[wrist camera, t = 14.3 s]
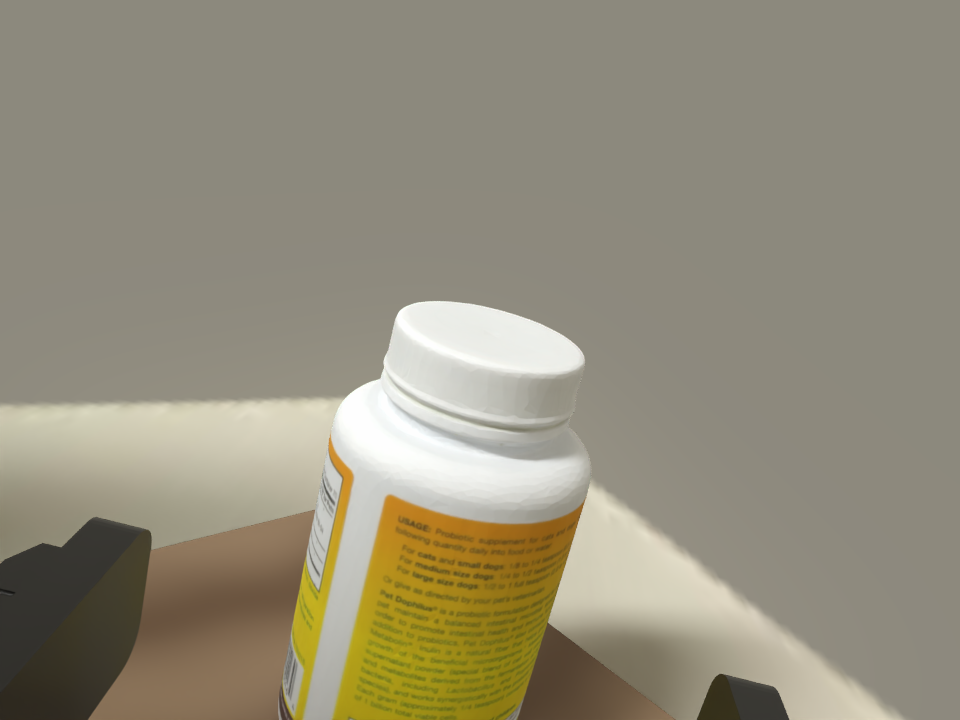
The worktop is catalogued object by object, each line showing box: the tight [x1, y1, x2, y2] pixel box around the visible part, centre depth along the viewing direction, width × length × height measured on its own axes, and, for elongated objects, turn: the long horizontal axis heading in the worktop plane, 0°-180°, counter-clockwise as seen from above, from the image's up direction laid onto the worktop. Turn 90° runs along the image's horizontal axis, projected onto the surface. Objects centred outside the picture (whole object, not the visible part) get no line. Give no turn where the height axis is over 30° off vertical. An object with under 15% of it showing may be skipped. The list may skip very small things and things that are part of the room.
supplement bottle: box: [278, 301, 591, 720], centre depth 19 cm, size 6×6×10 cm
